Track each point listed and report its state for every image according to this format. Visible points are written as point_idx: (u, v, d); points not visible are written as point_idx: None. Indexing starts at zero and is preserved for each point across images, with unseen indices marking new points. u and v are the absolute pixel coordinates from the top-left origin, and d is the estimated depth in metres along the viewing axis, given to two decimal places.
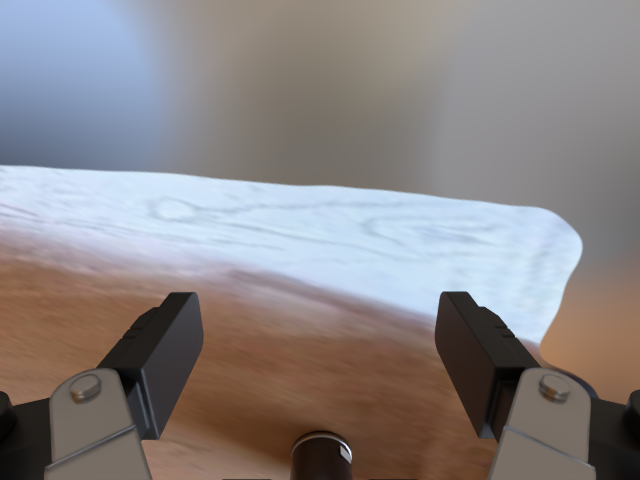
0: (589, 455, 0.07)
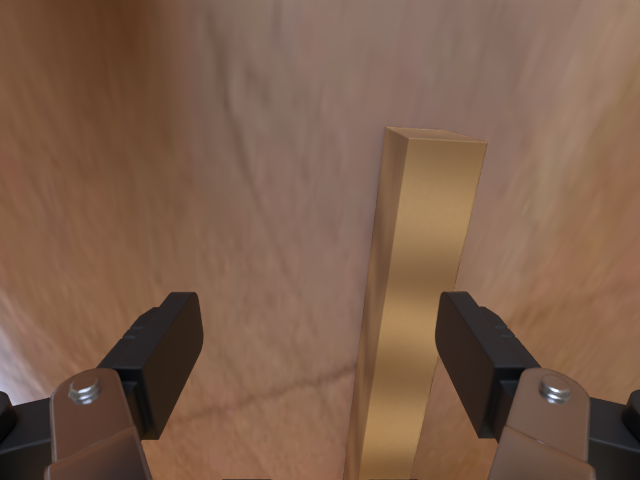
0: (589, 455, 0.07)
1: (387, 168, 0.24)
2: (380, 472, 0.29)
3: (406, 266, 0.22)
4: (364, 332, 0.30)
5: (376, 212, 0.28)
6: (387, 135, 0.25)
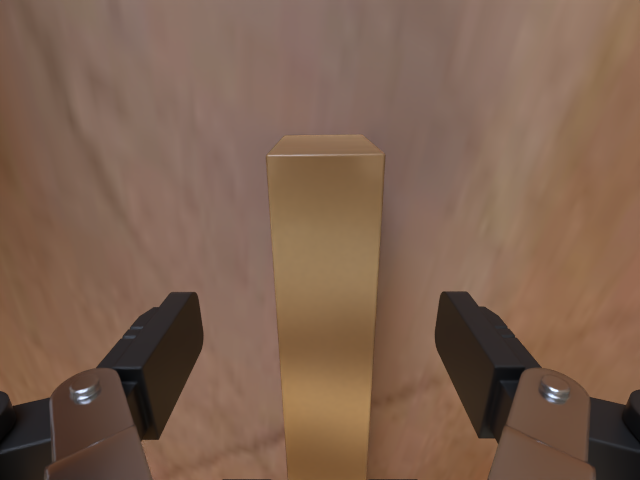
0: (589, 455, 0.07)
1: None
2: None
3: (301, 331, 0.16)
4: None
5: None
6: None
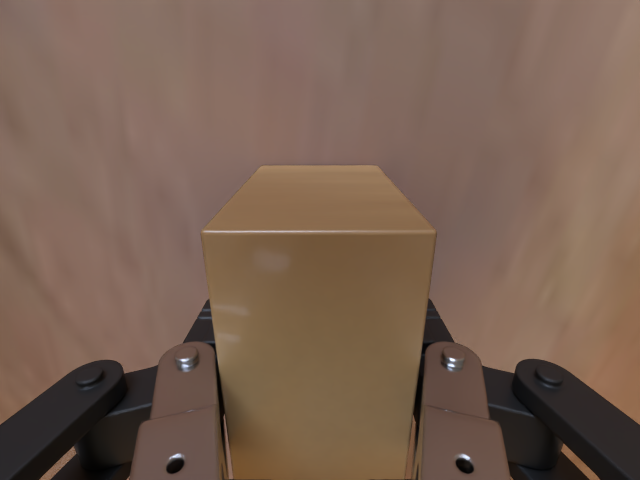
0: None
1: None
2: None
3: None
4: None
5: None
6: None
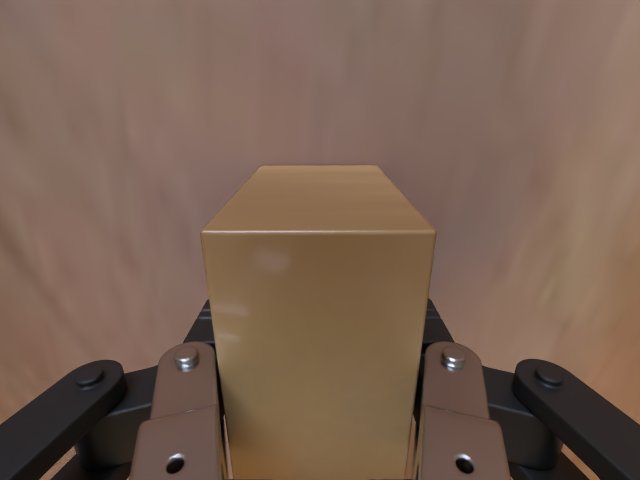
0: None
1: None
2: None
3: None
4: None
5: None
6: None
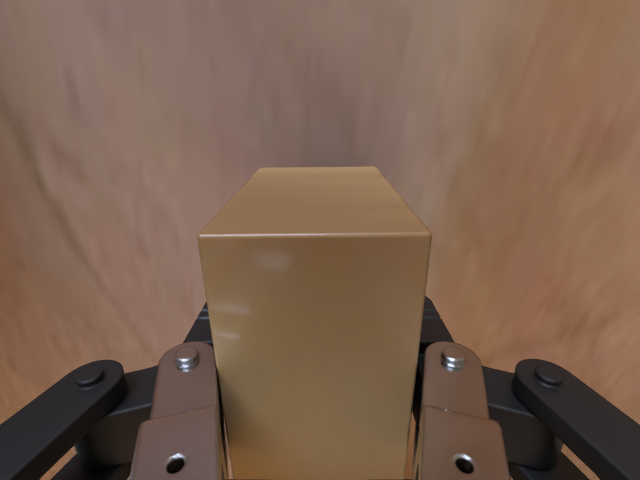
0: None
1: None
2: None
3: None
4: None
5: None
6: None
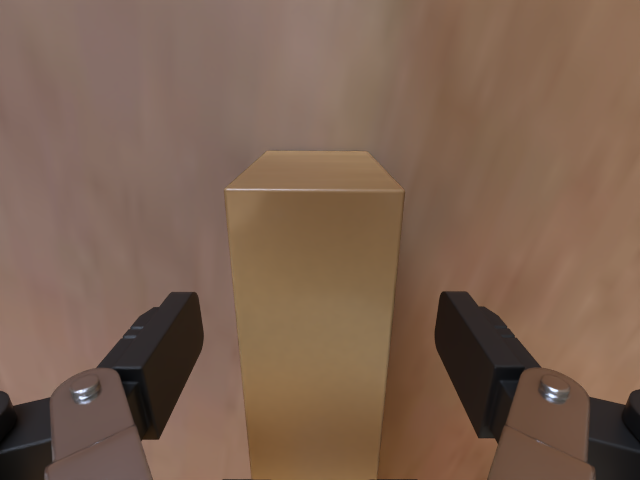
0: (589, 455, 0.07)
1: None
2: None
3: (280, 427, 0.11)
4: None
5: None
6: None
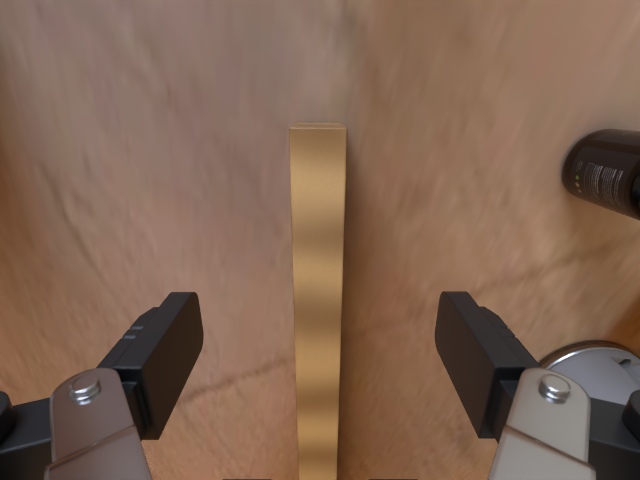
0: (589, 455, 0.07)
1: None
2: (314, 401, 0.36)
3: (304, 225, 0.29)
4: None
5: None
6: None
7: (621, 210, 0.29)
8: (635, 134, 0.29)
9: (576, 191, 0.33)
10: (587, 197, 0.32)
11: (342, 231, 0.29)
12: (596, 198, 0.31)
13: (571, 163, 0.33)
